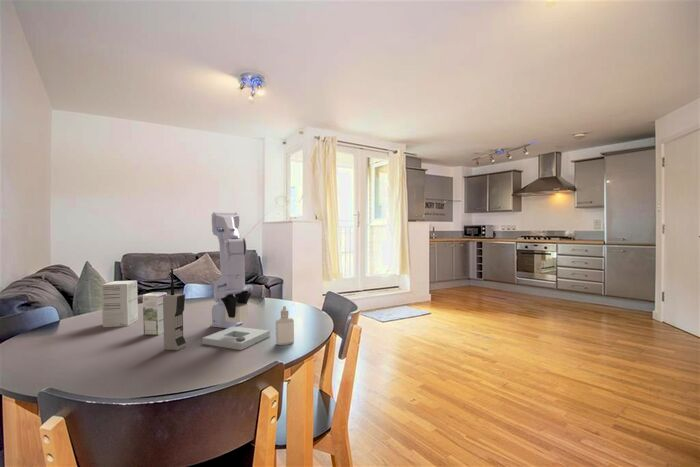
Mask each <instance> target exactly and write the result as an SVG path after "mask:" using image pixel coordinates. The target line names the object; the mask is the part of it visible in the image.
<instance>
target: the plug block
mask: <svg viewBox="0 0 700 467" xmlns="http://www.w3.org/2000/svg"><path fill="white" fill-rule="evenodd" d="M225 313H226V321H231V322H243V323H244V322H245V321H248V320H249V304H248V303H247V304H243V303H236V312H235V317H234V318H230V317H229V316H228V313H227V310H226V307H225Z"/></svg>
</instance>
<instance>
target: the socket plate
mask: <svg viewBox="0 0 700 467" xmlns="http://www.w3.org/2000/svg"><path fill="white" fill-rule="evenodd" d="M270 337H271V333H270V330H268V329H259V328H251V327H250V328H249V327H242V326H233V327H230V328H224V329H223V330H219V331H217V332H214V333H212V334H208V335H207V336H206V335H205V336H203V337H202V338H201V339H202V341H201V342H202V345H207V346H214V347H219V348H225V349H233V350H238V351H243V350H244V349H246V348H249V347H251V346H253V345H255V344H257V343H259V342H261V341H263V340H265V339H267V338H270Z"/></svg>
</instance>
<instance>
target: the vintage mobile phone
mask: <svg viewBox="0 0 700 467" xmlns="http://www.w3.org/2000/svg"><path fill="white" fill-rule="evenodd" d="M170 280H171V281H170V293H169V294H167V295H166V296H163V324H164V333H163V350H166V351H180V350H181V349H183V348H185V347H187V342H186V339H185V337H184V310H185V306H186V305H185V301H186V294H185V293H175V283H174V269H173V268H171V269H170Z"/></svg>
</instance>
